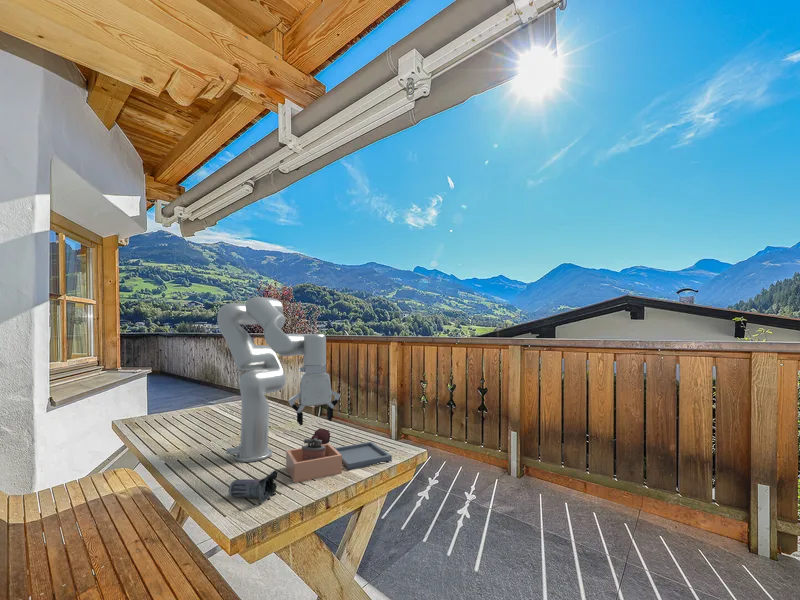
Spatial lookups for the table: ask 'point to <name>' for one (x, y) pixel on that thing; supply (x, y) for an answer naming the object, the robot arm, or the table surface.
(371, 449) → the tray
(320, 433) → the icecream
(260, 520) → the table surface
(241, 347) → the robot arm
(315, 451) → the lighter
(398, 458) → the table surface
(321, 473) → the pink open box
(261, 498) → the dark blue piece
